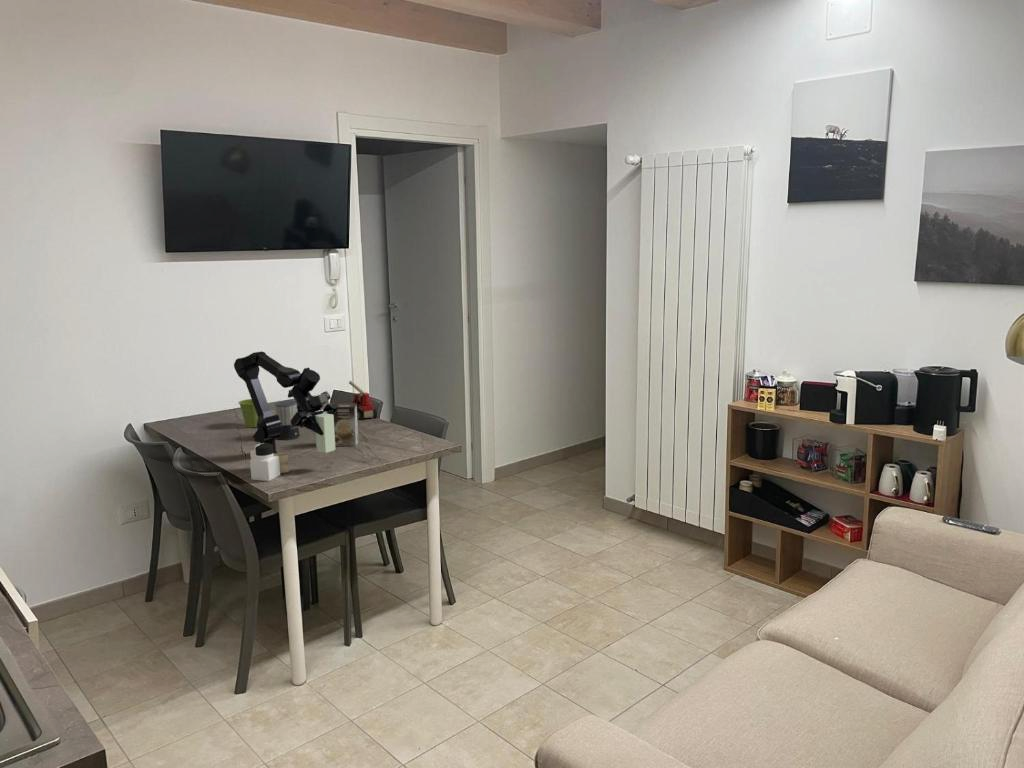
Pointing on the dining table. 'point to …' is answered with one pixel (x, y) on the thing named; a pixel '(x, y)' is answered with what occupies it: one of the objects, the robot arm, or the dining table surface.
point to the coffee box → (346, 425)
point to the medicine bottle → (264, 463)
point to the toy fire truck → (363, 404)
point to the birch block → (283, 462)
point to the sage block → (325, 433)
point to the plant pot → (249, 413)
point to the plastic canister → (252, 454)
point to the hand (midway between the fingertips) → (327, 433)
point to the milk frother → (287, 419)
